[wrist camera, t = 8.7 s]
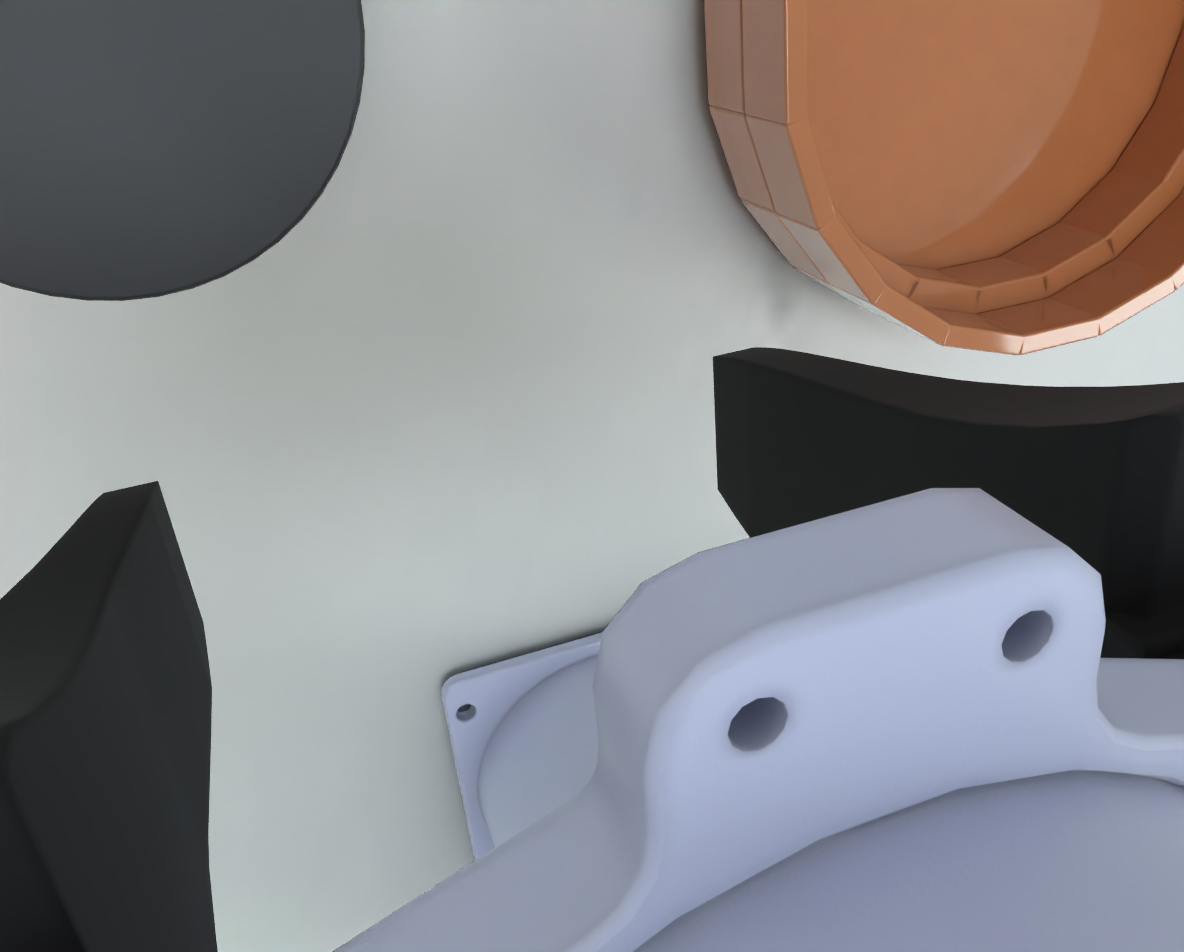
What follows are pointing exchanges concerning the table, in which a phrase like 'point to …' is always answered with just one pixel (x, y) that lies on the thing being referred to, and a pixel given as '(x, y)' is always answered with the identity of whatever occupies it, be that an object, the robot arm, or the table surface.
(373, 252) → the table surface
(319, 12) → the cap
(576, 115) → the table surface
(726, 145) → the round terracotta dish
